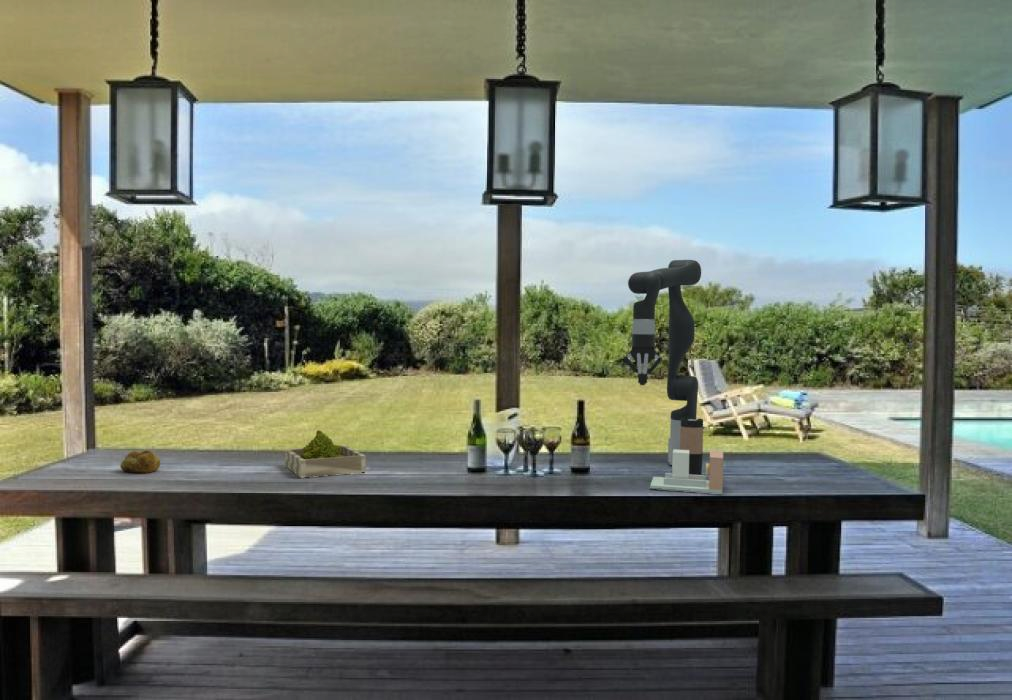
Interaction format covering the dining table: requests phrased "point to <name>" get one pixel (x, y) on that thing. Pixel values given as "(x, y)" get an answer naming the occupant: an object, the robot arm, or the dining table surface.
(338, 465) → the veg crate
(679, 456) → the white rectangular block
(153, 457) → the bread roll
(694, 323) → the robot arm
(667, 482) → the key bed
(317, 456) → the vegetable
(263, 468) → the dining table surface
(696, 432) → the travel mug
